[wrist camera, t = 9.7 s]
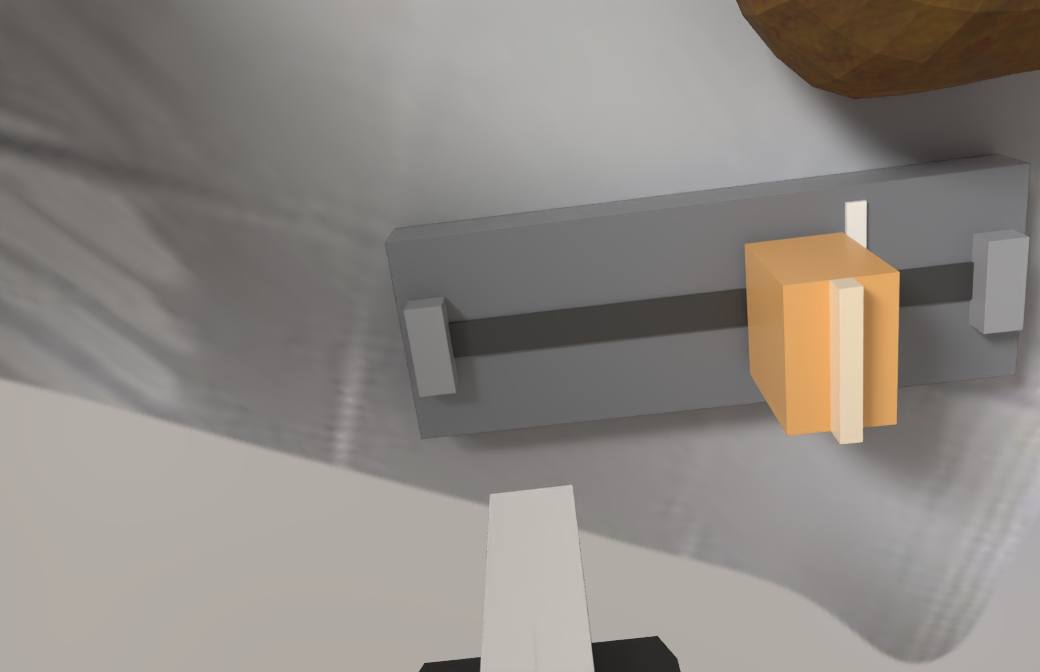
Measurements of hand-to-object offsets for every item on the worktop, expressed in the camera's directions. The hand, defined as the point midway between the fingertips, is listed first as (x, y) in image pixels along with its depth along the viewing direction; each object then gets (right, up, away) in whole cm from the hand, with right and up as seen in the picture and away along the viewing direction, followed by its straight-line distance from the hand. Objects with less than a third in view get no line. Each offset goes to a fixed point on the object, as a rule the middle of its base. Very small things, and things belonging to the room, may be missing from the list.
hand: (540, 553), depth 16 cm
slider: (+8, +5, +12) cm, 15 cm away
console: (+6, +6, +14) cm, 16 cm away
